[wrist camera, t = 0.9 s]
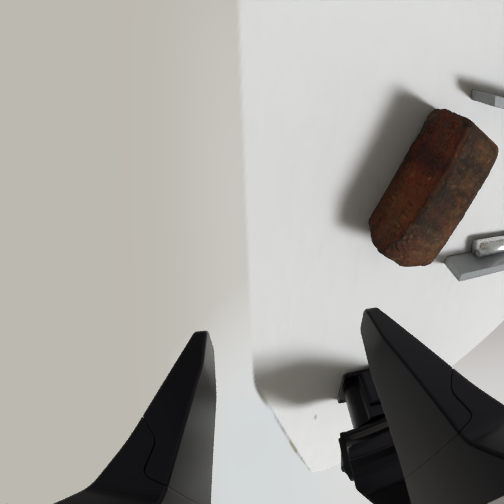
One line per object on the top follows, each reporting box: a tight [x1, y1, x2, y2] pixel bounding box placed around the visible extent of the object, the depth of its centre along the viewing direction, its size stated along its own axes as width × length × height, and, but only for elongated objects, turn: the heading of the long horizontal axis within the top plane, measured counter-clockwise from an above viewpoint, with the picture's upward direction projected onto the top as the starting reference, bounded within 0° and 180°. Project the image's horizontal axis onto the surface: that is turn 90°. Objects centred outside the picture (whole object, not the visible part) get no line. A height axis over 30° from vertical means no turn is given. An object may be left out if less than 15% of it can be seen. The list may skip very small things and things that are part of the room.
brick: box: [369, 109, 498, 267], centre depth 18 cm, size 11×4×5 cm, turn 158°
